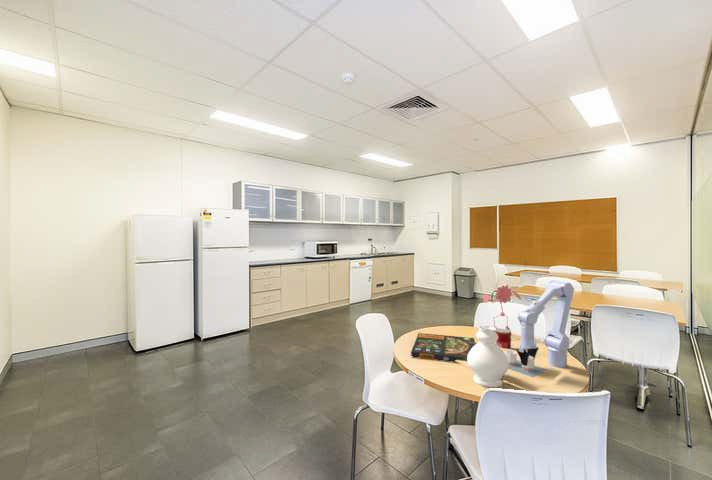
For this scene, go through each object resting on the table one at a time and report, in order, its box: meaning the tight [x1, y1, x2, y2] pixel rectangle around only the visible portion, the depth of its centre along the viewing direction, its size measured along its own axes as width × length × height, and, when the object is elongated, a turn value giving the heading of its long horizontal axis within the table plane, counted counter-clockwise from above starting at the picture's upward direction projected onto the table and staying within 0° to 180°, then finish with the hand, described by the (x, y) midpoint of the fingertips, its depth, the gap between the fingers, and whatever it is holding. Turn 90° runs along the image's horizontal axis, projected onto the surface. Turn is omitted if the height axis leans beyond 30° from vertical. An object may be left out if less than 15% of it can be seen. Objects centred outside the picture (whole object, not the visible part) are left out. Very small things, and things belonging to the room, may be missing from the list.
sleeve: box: [522, 356, 535, 371], centre depth 149 cm, size 5×5×6 cm
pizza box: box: [410, 332, 476, 363], centre depth 180 cm, size 35×35×4 cm
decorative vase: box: [466, 324, 509, 388], centre depth 140 cm, size 18×18×25 cm
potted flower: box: [482, 284, 522, 340], centre depth 201 cm, size 15×26×35 cm, turn 98°
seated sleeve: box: [504, 349, 518, 366], centre depth 156 cm, size 5×5×6 cm
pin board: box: [508, 359, 547, 378], centre depth 152 cm, size 14×19×4 cm
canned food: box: [495, 328, 512, 350], centre depth 181 cm, size 8×8×11 cm
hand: (527, 363), depth 149 cm, fingers open, 7 cm apart
